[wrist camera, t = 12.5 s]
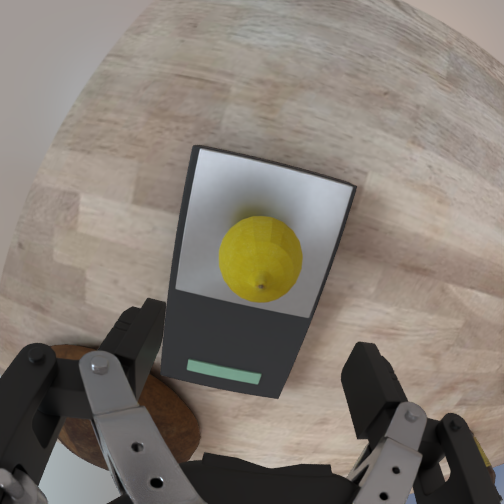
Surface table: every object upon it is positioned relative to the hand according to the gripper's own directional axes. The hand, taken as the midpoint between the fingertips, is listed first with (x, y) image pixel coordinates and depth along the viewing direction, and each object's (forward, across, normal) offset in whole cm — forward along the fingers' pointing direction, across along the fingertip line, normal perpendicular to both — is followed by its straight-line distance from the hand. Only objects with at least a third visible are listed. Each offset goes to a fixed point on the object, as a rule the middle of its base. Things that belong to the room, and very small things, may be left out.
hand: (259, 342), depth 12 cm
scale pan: (+14, 0, 0) cm, 14 cm away
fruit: (+13, 0, 0) cm, 13 cm away
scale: (+17, 0, +7) cm, 19 cm away
